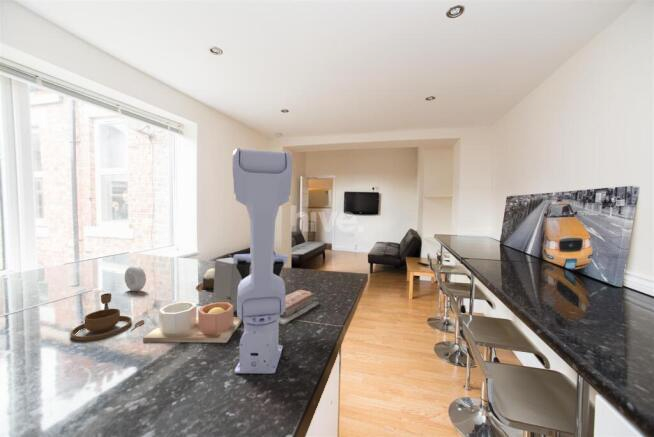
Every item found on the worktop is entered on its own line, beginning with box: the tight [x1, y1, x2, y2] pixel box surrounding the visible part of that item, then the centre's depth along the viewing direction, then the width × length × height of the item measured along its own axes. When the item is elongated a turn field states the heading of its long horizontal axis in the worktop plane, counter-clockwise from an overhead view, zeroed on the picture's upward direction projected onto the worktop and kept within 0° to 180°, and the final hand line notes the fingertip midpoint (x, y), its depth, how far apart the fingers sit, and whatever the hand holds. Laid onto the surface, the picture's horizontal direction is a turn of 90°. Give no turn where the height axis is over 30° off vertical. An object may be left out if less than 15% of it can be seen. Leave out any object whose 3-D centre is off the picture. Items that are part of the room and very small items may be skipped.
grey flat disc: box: [124, 264, 147, 292], centre depth 96 cm, size 10×4×10 cm, turn 66°
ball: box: [208, 307, 225, 313], centre depth 66 cm, size 5×5×5 cm
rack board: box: [142, 315, 243, 344], centre depth 66 cm, size 12×20×1 cm, turn 90°
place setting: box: [70, 292, 145, 342], centre depth 70 cm, size 18×20×6 cm
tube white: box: [158, 301, 197, 334], centre depth 66 cm, size 8×8×5 cm
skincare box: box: [212, 257, 242, 313], centre depth 81 cm, size 8×7×16 cm
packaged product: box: [279, 289, 320, 325], centre depth 80 cm, size 18×5×10 cm
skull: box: [195, 268, 215, 292], centre depth 103 cm, size 12×10×10 cm
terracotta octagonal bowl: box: [197, 302, 234, 334], centre depth 66 cm, size 8×8×5 cm
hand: (261, 288), depth 69 cm, fingers open, 7 cm apart
